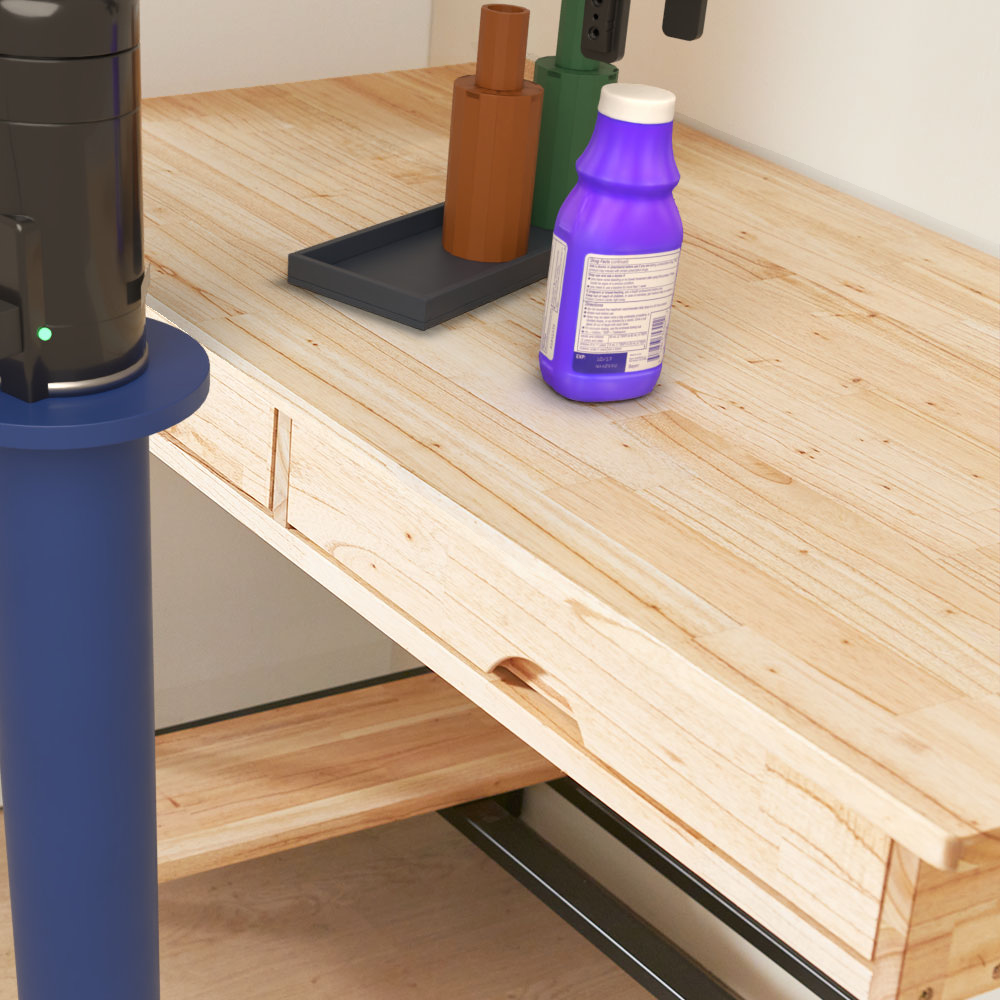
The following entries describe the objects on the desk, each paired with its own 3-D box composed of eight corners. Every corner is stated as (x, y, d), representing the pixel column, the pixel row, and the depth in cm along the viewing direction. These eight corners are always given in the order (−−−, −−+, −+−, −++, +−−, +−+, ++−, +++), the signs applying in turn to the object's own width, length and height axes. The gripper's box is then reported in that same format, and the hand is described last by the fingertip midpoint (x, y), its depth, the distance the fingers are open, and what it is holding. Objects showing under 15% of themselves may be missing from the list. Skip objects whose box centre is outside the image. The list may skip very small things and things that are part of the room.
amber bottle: (494, 275, 106) (518, 22, 98) (424, 253, 108) (442, 5, 100) (542, 256, 110) (568, 12, 102) (473, 235, 113) (494, -5, 105)
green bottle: (571, 243, 113) (599, 5, 105) (504, 223, 116) (526, -10, 108) (613, 226, 118) (642, -3, 110) (547, 207, 120) (571, -18, 112)
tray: (423, 331, 96) (425, 300, 95) (286, 282, 101) (287, 253, 100) (652, 230, 118) (656, 205, 117) (531, 195, 123) (533, 170, 122)
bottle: (627, 363, 94) (667, 76, 86) (675, 401, 90) (722, 102, 82) (521, 374, 91) (552, 78, 83) (565, 414, 87) (602, 105, 79)
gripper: (686, -298, 81) (647, 20, 88) (538, -309, 70) (508, 53, 78) (818, -284, 77) (765, 45, 85) (683, -295, 67) (636, 83, 74)
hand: (642, 48), depth 81 cm, fingers open, 8 cm apart
